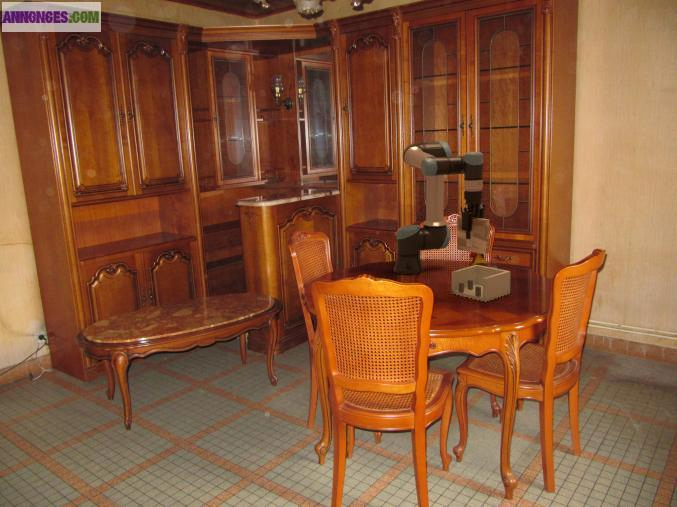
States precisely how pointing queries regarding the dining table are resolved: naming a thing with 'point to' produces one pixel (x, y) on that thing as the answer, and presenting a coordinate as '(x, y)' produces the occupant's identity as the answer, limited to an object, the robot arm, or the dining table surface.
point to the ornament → (477, 259)
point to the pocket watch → (494, 265)
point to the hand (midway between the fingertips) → (472, 245)
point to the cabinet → (481, 282)
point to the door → (474, 236)
